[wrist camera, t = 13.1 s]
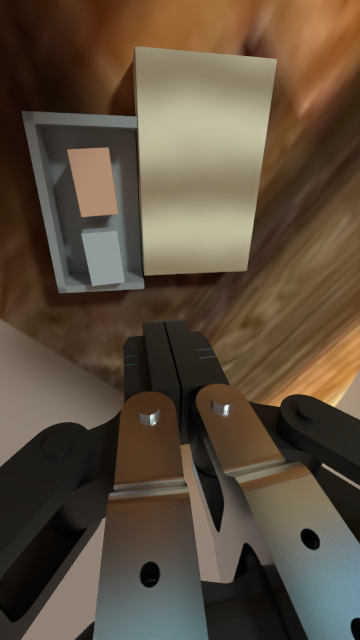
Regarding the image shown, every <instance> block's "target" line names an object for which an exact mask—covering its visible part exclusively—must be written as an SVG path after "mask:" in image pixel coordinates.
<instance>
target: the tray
mask: <svg viewBox="0 0 360 640" xmlns="http://www.w3.org/2000/svg"><path fill="white" fill-rule="evenodd" d="M21 112H22V116H23V121H24V126H25V131H26V136H27V141H28V146H29V150H30V155H31V160H32V165H33V170H34V175H35V180H36V184H37V189H38V194H39V199H40V204H41V209H42V214H43V218H44V223H45V228H46V233H47V238H48V243H49V248H50V252H51V257H52V262H53V267H54V272H55V277H56V282H57V286H58V291H59V293H75V292H93V291H111V290H130V289H144V279H143V274H142V267H141V246H140V224H139V203H138V182H137V161H136V139H135V131H136V129H137V117H134V116H114V115H93V114H73V113H52V112H32V111H21ZM106 147H108V148H109V149H110V154H111V161H112V168H113V174H114V181H115V188H116V194H117V201H118V214H113V215H101V216H89V217H81V212H80V208H79V203H78V198H77V194H76V189H75V184H74V180H73V175H72V170H71V166H70V161H69V156H68V152H67V150H69V149H87V148H106ZM113 220H117V222H118V229H119V236H120V243H121V250H122V257H123V264H124V279H125V282H124V283H115V284H106V285H96V286H92V282H91V278H90V273H89V268H88V263H87V259H86V254H85V249H84V244H83V240H82V235H81V233H82V231H83V229H84V227H85V225H86V223H87V222H100V221H113Z"/></svg>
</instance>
